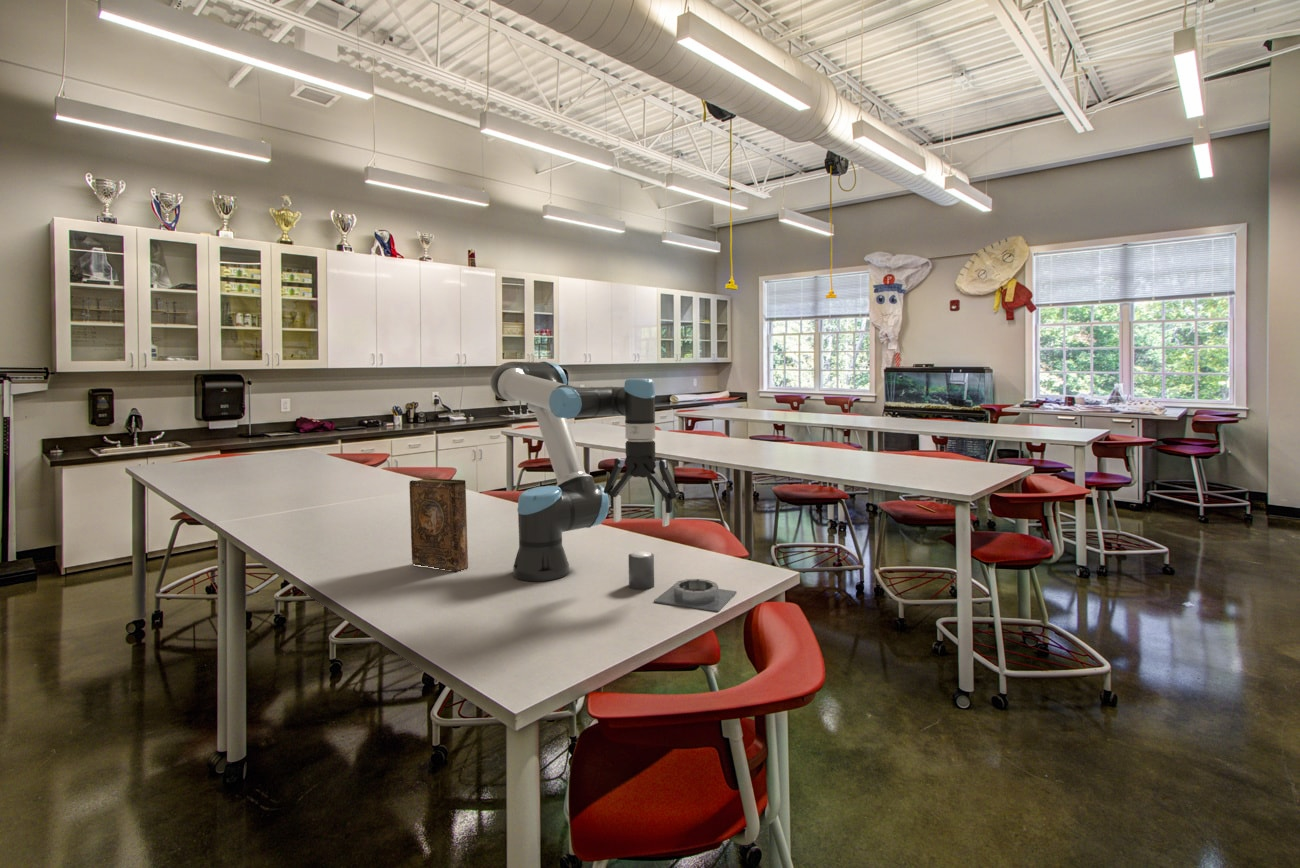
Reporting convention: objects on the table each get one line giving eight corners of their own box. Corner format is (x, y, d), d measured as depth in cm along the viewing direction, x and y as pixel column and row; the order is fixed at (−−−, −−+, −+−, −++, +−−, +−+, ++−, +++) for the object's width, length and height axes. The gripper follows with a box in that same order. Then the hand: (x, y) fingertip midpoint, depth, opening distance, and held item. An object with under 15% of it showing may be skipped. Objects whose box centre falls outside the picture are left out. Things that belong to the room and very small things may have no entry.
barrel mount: (653, 602, 149) (653, 589, 148) (676, 585, 161) (676, 573, 161) (718, 611, 142) (718, 599, 142) (736, 593, 155) (736, 581, 154)
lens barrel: (624, 588, 159) (624, 556, 159) (635, 580, 165) (635, 549, 165) (647, 591, 157) (647, 558, 156) (658, 583, 163) (658, 552, 162)
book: (471, 567, 179) (468, 480, 177) (458, 572, 174) (455, 483, 172) (425, 561, 185) (422, 477, 183) (412, 566, 180) (408, 480, 178)
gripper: (589, 440, 160) (591, 522, 162) (680, 442, 150) (681, 530, 151) (603, 437, 167) (605, 516, 168) (692, 440, 156) (692, 524, 158)
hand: (641, 523), depth 160 cm, fingers open, 13 cm apart
